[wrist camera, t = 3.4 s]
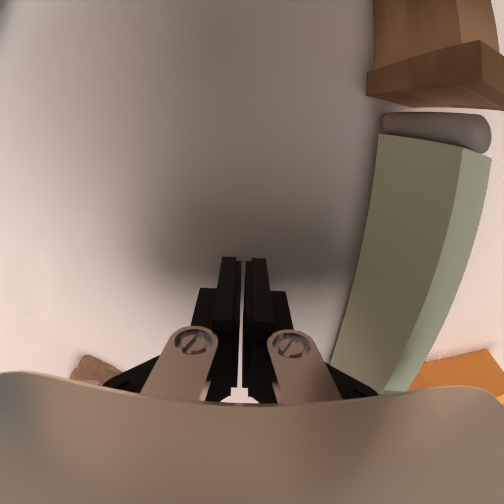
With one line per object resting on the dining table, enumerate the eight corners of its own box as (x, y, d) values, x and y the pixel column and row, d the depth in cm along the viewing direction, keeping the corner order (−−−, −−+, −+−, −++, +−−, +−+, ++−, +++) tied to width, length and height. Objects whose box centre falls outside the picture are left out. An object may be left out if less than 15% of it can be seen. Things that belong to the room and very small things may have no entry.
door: (380, 109, 9) (465, 108, 5) (428, 123, 9) (517, 135, 5) (329, 365, 14) (350, 441, 10) (368, 362, 14) (396, 432, 10)
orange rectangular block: (414, 362, 16) (444, 418, 11) (485, 347, 16) (515, 388, 11) (388, 406, 18) (407, 457, 13) (458, 388, 18) (480, 428, 14)
